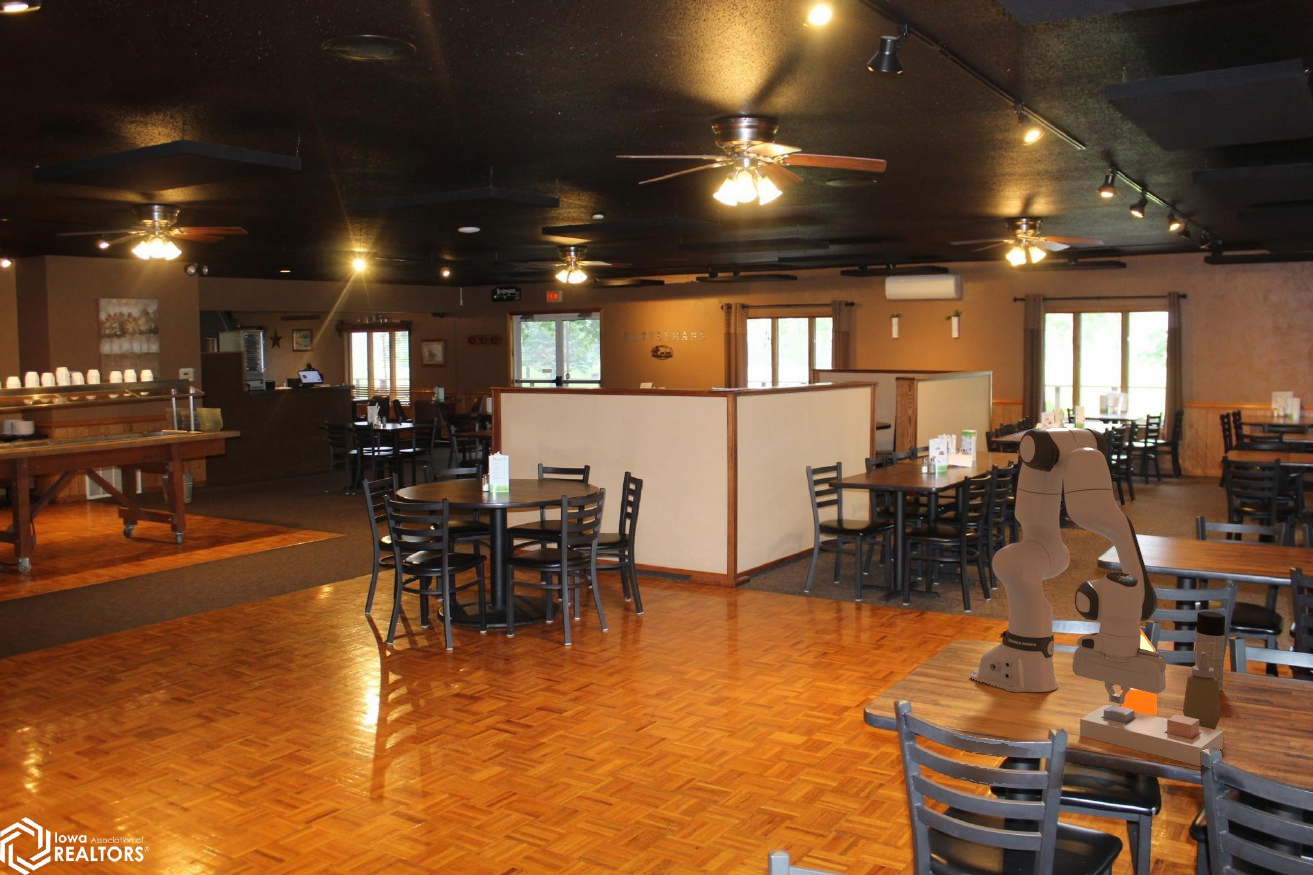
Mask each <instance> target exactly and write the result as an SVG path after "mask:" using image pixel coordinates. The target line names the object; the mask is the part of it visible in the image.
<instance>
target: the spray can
mask: <svg viewBox="0 0 1313 875" xmlns="http://www.w3.org/2000/svg"><path fill="white" fill-rule="evenodd" d="M1196 616H1197V618H1196V632H1195V633H1196V634H1195V636H1196V637H1195V657H1194V658H1195V660H1194V661H1195V662H1194V666H1197V665H1198V661H1199V658H1200V654H1201V652H1204V653H1206V654H1207V659H1208V663H1209V667H1211V668H1213V669H1214V677H1215V678H1216V679H1217V680H1218V684H1219V692H1221V691H1222V690H1223V689H1224V688H1223V687H1224V664H1225V663H1224V662H1225V658H1224V657H1225V643H1226V642H1225V641H1226V640H1225V639H1226V638H1225V636H1226V616H1225V615H1224V614H1222V613H1220V612H1216V611H1215V612H1214V611H1199V612H1198V611H1197V615H1196Z"/></svg>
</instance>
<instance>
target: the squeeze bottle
mask: <svg viewBox="0 0 1313 875" xmlns="http://www.w3.org/2000/svg"><path fill="white" fill-rule="evenodd" d="M1182 708H1183V709H1182V713H1183V714H1182V715H1183V716H1186V717H1190V718H1195V719H1199V726H1201V727H1205V728H1210V729H1214V730H1217V727H1218V724H1219V723H1220V719H1221V718H1222V711H1221V699H1220V691H1219V684H1218V680H1217V679H1216V678H1215V677H1214V669H1213V668H1211V667H1209V663H1208V659H1207V654H1206V653H1204V652H1201V654H1200V658H1199V661H1198V665H1197V666H1195V665H1193V666H1192V667H1191V674H1190V675H1188V676H1187V679H1186V686H1185V694H1184V699H1183V707H1182Z"/></svg>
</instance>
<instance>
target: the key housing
mask: <svg viewBox="0 0 1313 875" xmlns="http://www.w3.org/2000/svg"><path fill="white" fill-rule="evenodd" d="M1110 706H1111V705H1110V704H1109V705H1108V704H1104V705H1102V706H1101V707H1099V708H1097V709H1095V710H1094V711H1092V712H1090V713H1088V714H1086V715H1084V716H1082V717H1081V718H1080V722H1079V736H1080V737H1083V738H1084V737H1085V738H1087V739H1091V740H1095V741H1099V742H1104V743H1107V744H1111V745H1115V746H1119V747H1122V748H1128V749H1131V750H1134V751H1139V752H1143V753H1146V754H1151V755H1155V756H1158V757H1161V758H1162V757H1163V758H1165V759H1169V760H1170V759H1171V760H1174V761H1177V762H1182V763H1187V764H1189V765H1194V766H1197V767H1201V766H1202V765H1200V752H1201V751H1202V750H1205V749H1208V748H1210V747H1216V748H1218V749H1221V751H1222V750H1223V745H1224V744H1223V743H1224V742H1223V741H1224V740H1223V738H1224V737H1223V736H1224V731H1223V730H1222V731H1221V730H1218V729H1215V730H1214V729H1210V728H1205V727H1201V726H1199V735H1198V736H1197V737H1196V738H1194V739H1193V740H1192V739H1188V738H1184V737H1179V736H1175V735H1171V734H1167V719H1168V718H1165V717H1161V716H1157V715H1149V714H1144V713H1140V712H1135V711H1134V720H1133V721H1131V722H1129V723H1128V724H1125V723H1121V722H1116V721H1112V720H1108V719H1104V710H1105V709H1107V708H1108V707H1110Z"/></svg>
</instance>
